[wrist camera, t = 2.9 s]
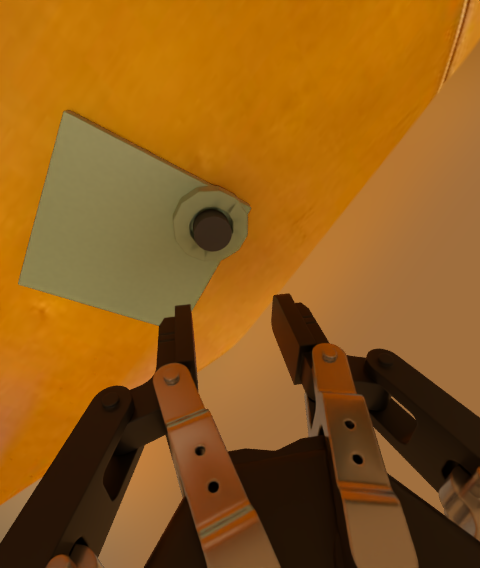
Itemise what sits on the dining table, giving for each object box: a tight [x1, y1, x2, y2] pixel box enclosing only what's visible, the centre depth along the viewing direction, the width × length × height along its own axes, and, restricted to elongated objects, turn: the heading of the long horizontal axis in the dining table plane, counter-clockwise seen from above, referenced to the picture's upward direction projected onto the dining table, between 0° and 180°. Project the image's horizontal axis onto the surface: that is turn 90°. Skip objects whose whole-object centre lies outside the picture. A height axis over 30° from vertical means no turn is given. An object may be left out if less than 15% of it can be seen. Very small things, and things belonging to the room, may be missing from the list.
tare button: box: [193, 209, 232, 252], centre depth 23 cm, size 3×3×2 cm
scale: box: [18, 110, 251, 326], centre depth 25 cm, size 14×14×2 cm
